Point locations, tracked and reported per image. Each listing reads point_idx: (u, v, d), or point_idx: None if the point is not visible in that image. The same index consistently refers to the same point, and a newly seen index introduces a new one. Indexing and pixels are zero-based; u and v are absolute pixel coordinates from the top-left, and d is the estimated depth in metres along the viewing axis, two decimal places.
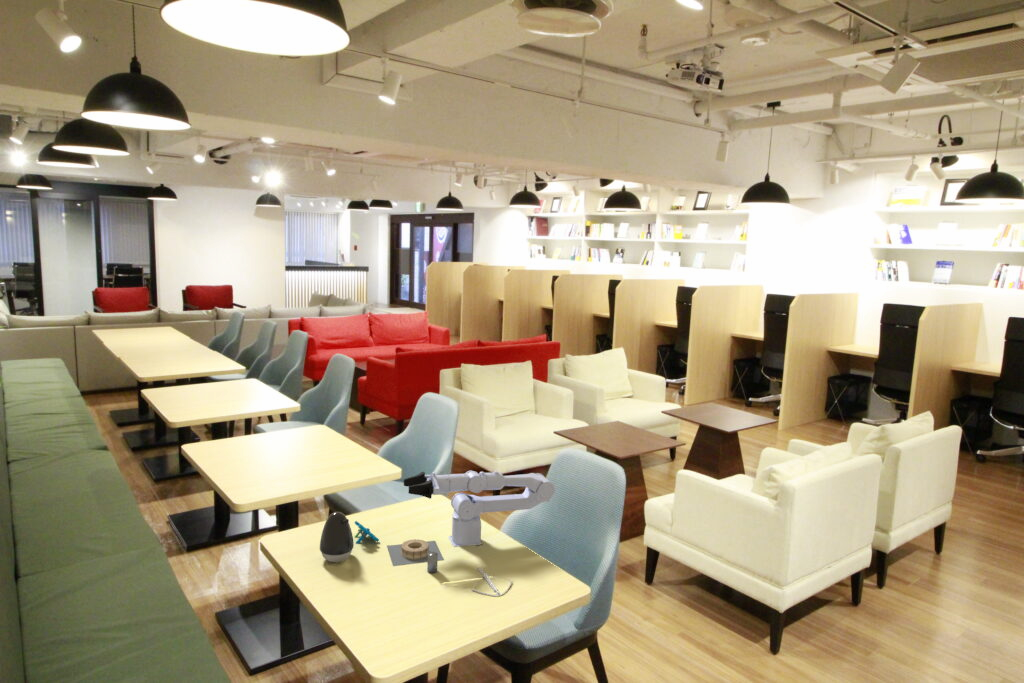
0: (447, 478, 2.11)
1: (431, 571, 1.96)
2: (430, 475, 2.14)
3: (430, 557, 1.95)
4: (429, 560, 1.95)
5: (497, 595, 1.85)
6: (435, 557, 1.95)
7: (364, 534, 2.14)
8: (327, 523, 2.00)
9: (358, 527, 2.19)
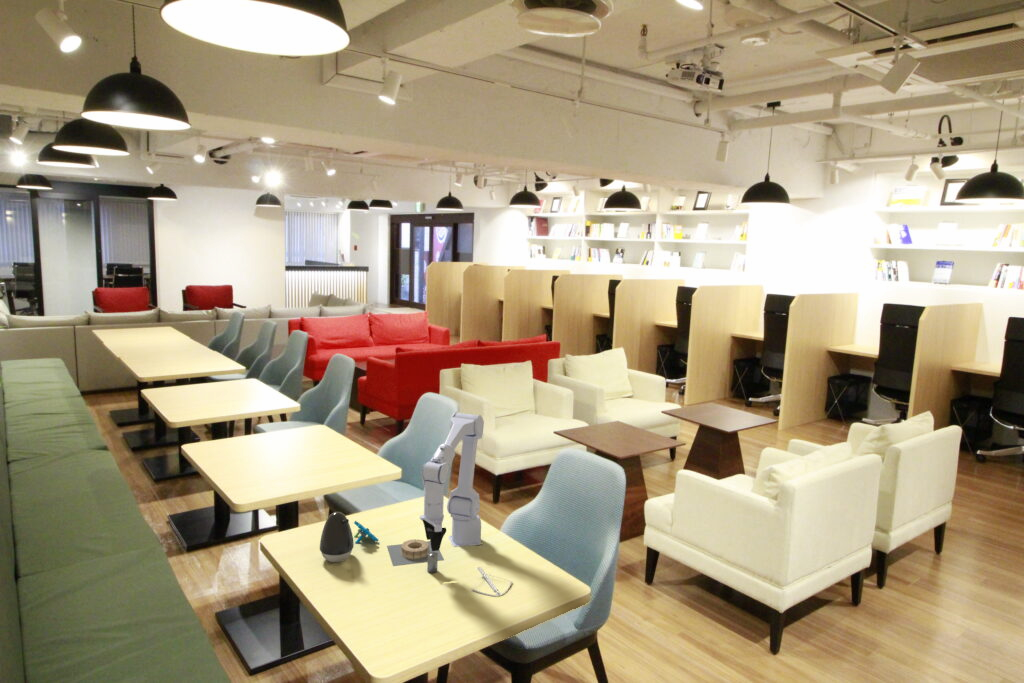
0: (427, 506, 1.92)
1: (431, 571, 1.96)
2: None
3: (430, 557, 1.95)
4: (429, 560, 1.95)
5: (497, 595, 1.85)
6: (435, 557, 1.95)
7: (363, 534, 2.14)
8: (327, 523, 2.00)
9: (358, 527, 2.19)
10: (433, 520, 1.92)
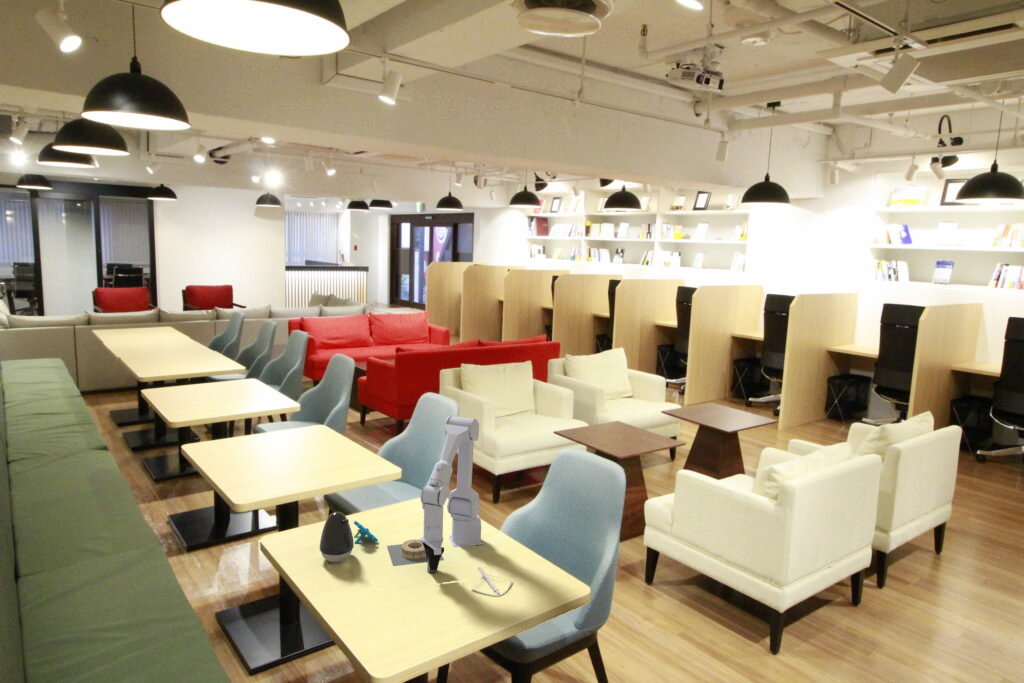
0: (427, 528, 1.93)
1: (431, 571, 1.96)
2: (424, 537, 1.97)
3: None
4: None
5: (497, 595, 1.85)
6: None
7: (363, 534, 2.14)
8: (327, 523, 2.00)
9: None
10: (432, 543, 1.93)
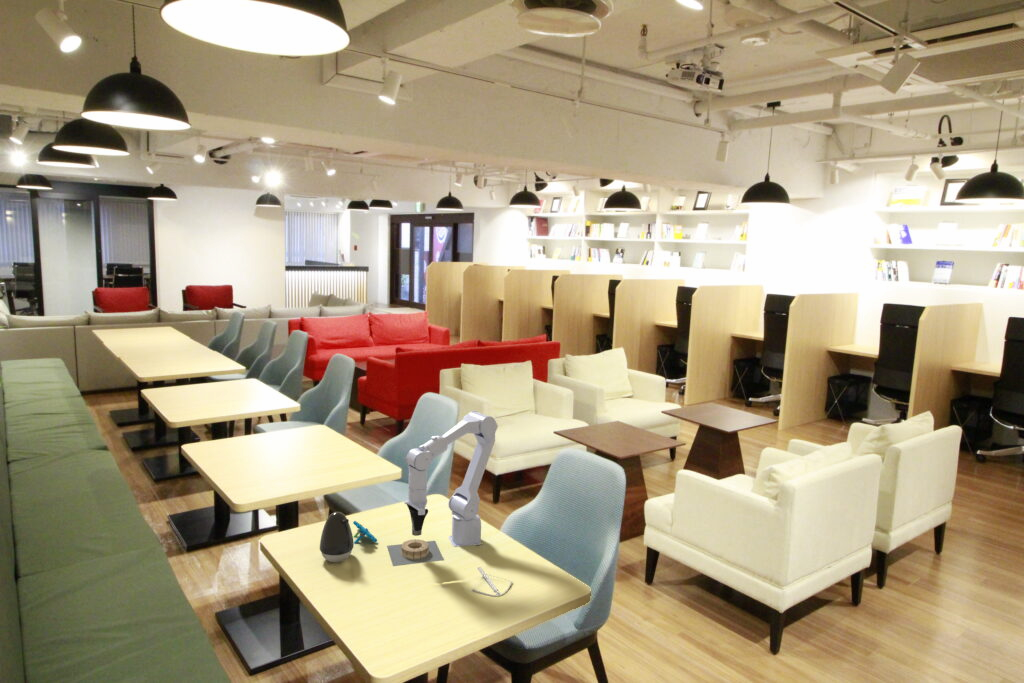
0: (411, 491, 2.02)
1: (415, 532, 2.05)
2: None
3: None
4: None
5: (497, 595, 1.85)
6: None
7: (362, 534, 2.14)
8: (327, 523, 2.00)
9: None
10: (417, 504, 2.02)
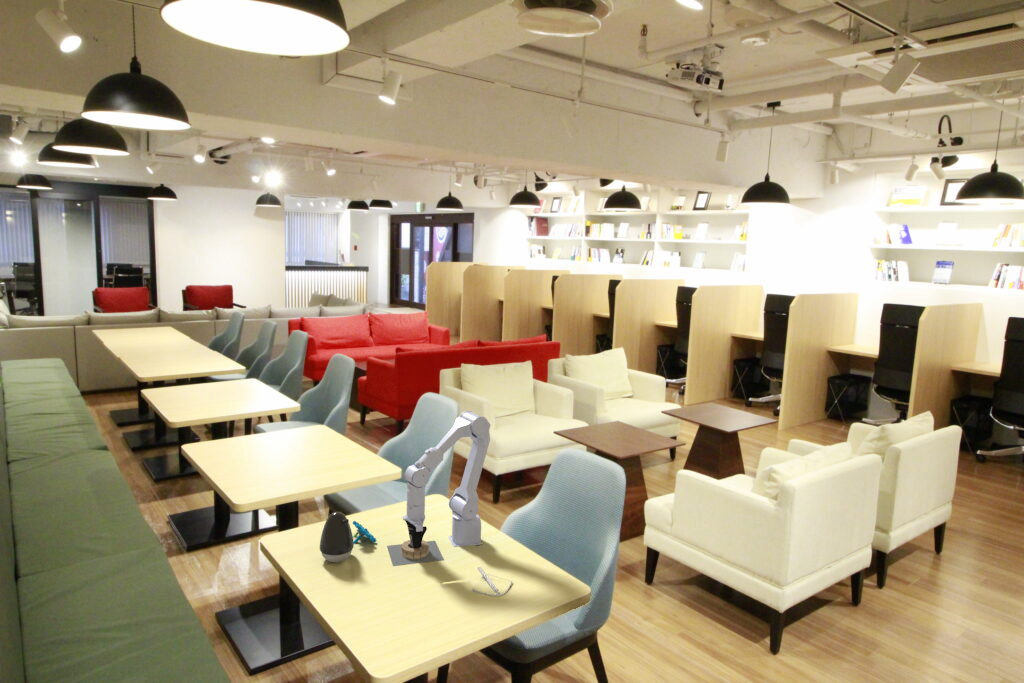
0: (409, 507, 2.04)
1: None
2: None
3: None
4: (411, 541, 2.06)
5: (497, 595, 1.85)
6: None
7: (361, 534, 2.14)
8: (327, 523, 2.00)
9: None
10: (415, 520, 2.04)
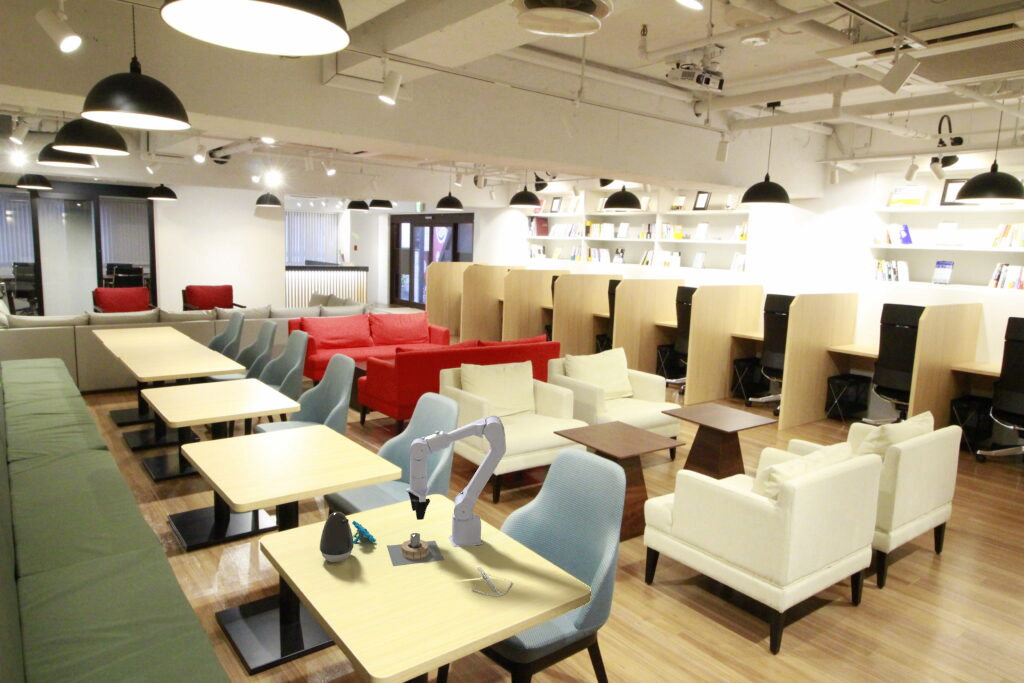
0: (412, 479, 2.12)
1: None
2: None
3: (413, 538, 2.06)
4: (412, 540, 2.06)
5: (497, 595, 1.85)
6: (417, 538, 2.06)
7: (361, 534, 2.14)
8: (327, 523, 2.00)
9: None
10: (418, 492, 2.12)
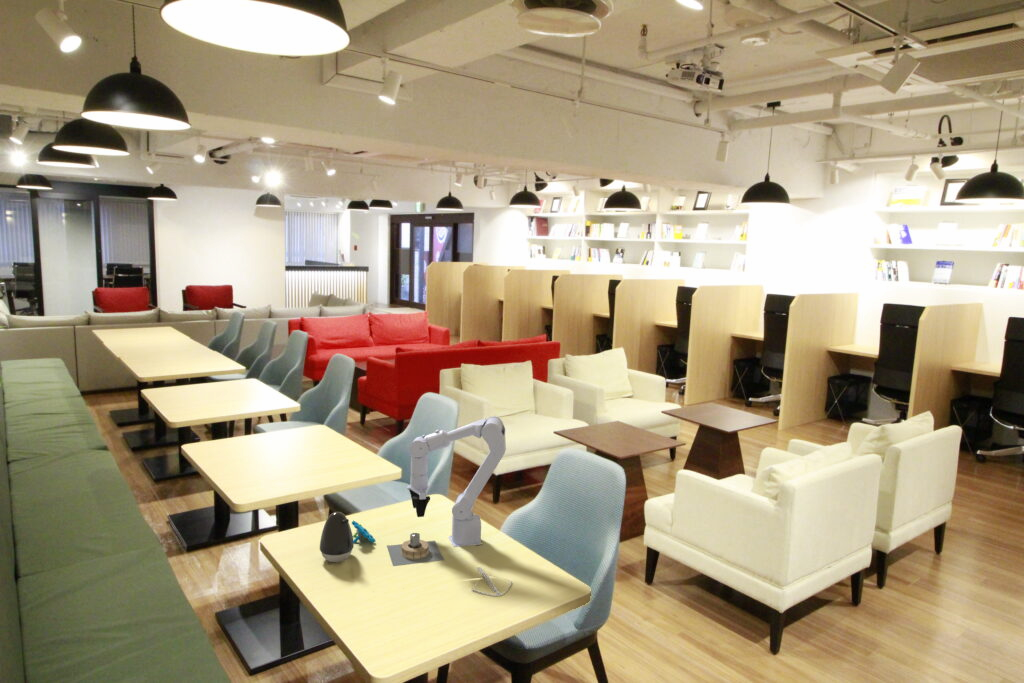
0: (413, 476, 2.14)
1: None
2: None
3: (412, 538, 2.06)
4: (411, 540, 2.06)
5: (497, 595, 1.85)
6: (417, 538, 2.06)
7: (360, 534, 2.14)
8: (327, 523, 2.00)
9: None
10: (418, 489, 2.14)
